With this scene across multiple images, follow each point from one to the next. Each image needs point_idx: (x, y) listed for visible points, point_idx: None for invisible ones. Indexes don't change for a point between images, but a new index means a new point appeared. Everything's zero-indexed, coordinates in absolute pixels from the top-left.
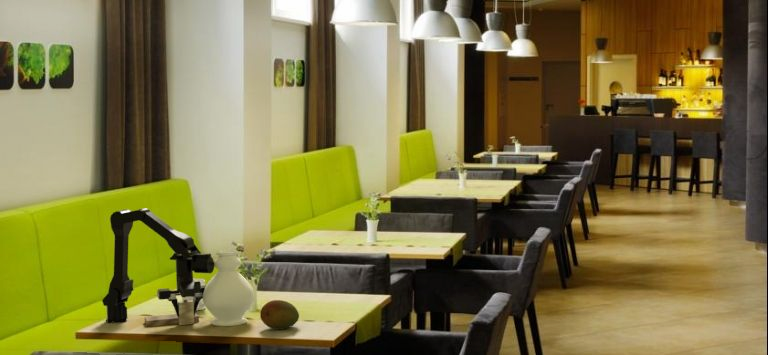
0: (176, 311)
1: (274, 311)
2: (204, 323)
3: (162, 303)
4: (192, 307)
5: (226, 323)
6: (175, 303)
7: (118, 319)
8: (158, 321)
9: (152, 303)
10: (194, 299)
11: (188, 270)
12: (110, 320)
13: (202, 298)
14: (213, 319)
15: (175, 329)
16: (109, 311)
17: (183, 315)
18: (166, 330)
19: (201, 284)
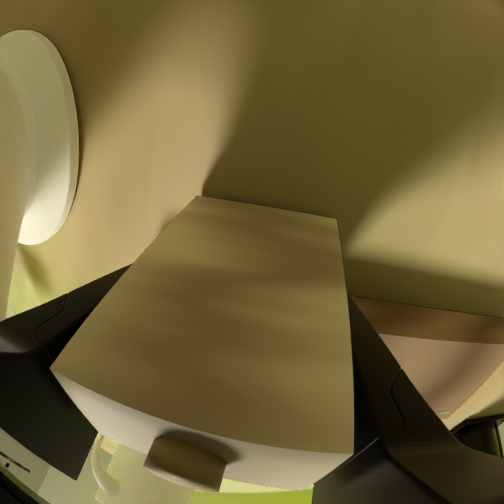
0: (377, 337)
1: None
2: (119, 182)
3: (245, 483)
4: (118, 302)
5: (13, 41)
6: (421, 446)
7: (483, 427)
8: (461, 333)
9: (267, 489)
10: (40, 405)
11: None
12: (494, 426)
13: (123, 449)
14: (56, 208)
15: (428, 88)
16: (500, 454)
17: (289, 264)
18: (497, 114)
19: (104, 494)
